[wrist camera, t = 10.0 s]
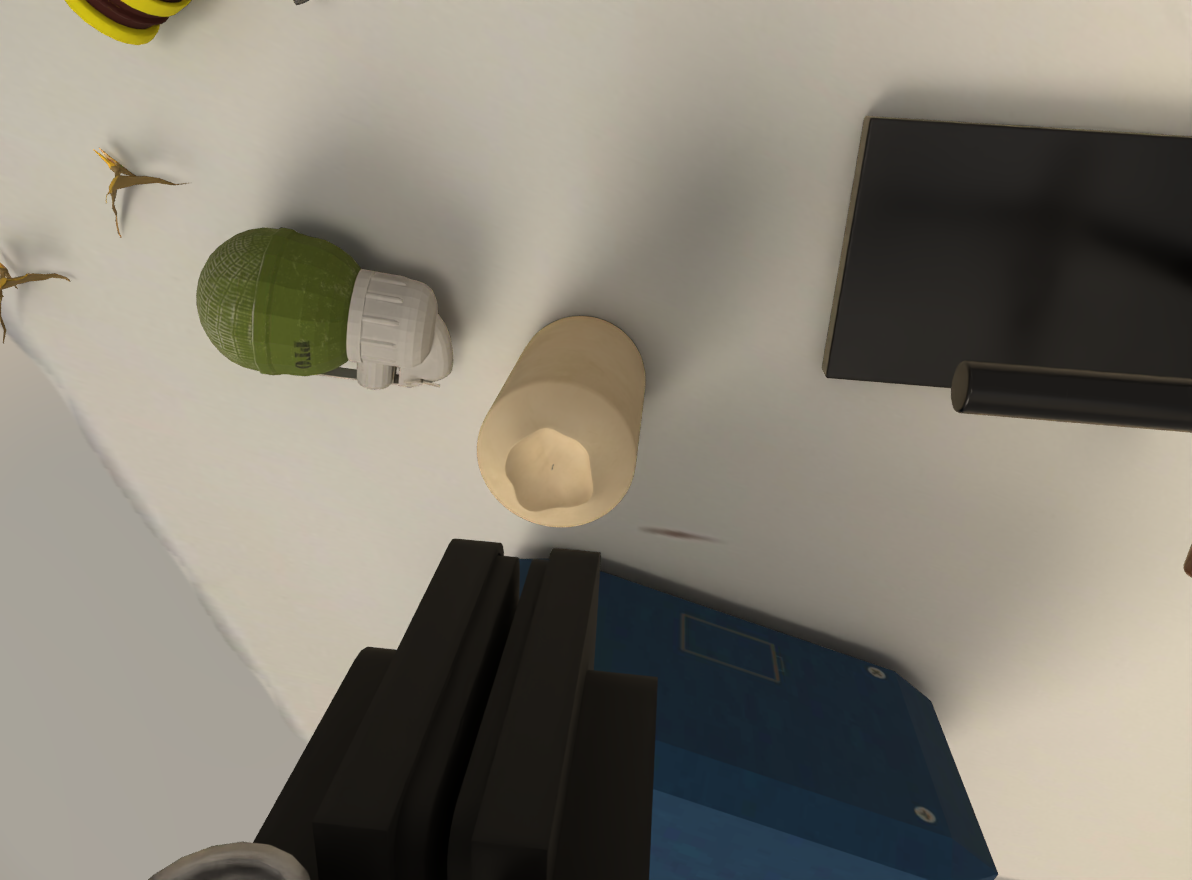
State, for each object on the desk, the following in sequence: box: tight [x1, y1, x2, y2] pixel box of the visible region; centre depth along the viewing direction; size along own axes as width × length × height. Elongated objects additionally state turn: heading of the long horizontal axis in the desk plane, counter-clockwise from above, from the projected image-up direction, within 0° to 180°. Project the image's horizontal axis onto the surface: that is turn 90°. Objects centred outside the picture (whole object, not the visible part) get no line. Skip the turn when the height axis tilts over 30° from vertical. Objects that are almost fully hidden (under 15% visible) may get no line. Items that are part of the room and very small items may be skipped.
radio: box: [519, 559, 998, 880], centre depth 34 cm, size 21×9×20 cm, turn 71°
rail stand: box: [822, 116, 1192, 433], centre depth 26 cm, size 10×15×17 cm
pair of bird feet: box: [0, 148, 187, 343], centre depth 36 cm, size 12×3×3 cm
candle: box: [477, 316, 645, 527], centre depth 33 cm, size 6×6×10 cm
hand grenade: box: [196, 228, 453, 390], centre depth 34 cm, size 6×6×10 cm
